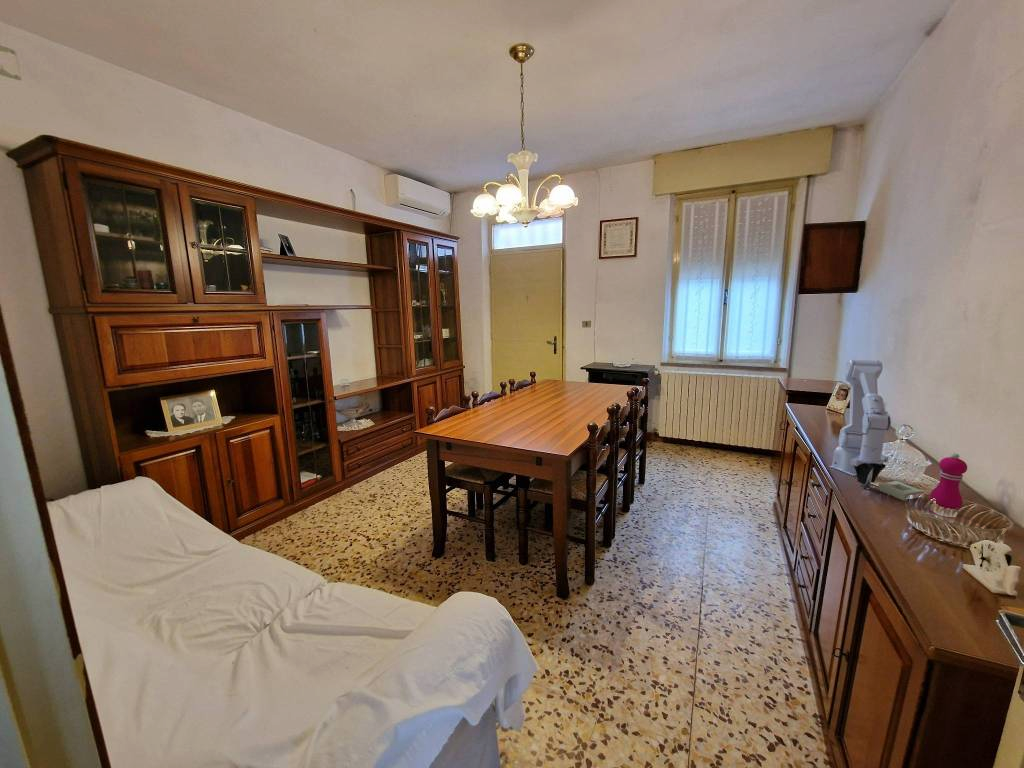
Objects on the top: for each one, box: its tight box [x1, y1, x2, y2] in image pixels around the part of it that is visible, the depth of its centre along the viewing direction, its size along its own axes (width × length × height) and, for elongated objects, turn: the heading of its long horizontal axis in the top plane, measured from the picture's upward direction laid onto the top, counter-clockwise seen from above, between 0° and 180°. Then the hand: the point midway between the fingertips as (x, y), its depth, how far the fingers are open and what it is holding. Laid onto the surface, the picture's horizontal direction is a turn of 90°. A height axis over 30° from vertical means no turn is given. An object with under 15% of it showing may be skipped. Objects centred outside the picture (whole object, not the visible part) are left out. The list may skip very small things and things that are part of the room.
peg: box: [859, 465, 874, 489], centre depth 148 cm, size 3×3×8 cm
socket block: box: [877, 480, 924, 502], centre depth 144 cm, size 8×8×2 cm
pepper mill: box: [929, 452, 968, 509], centre depth 129 cm, size 7×7×20 cm
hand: (865, 482), depth 149 cm, fingers open, 3 cm apart
